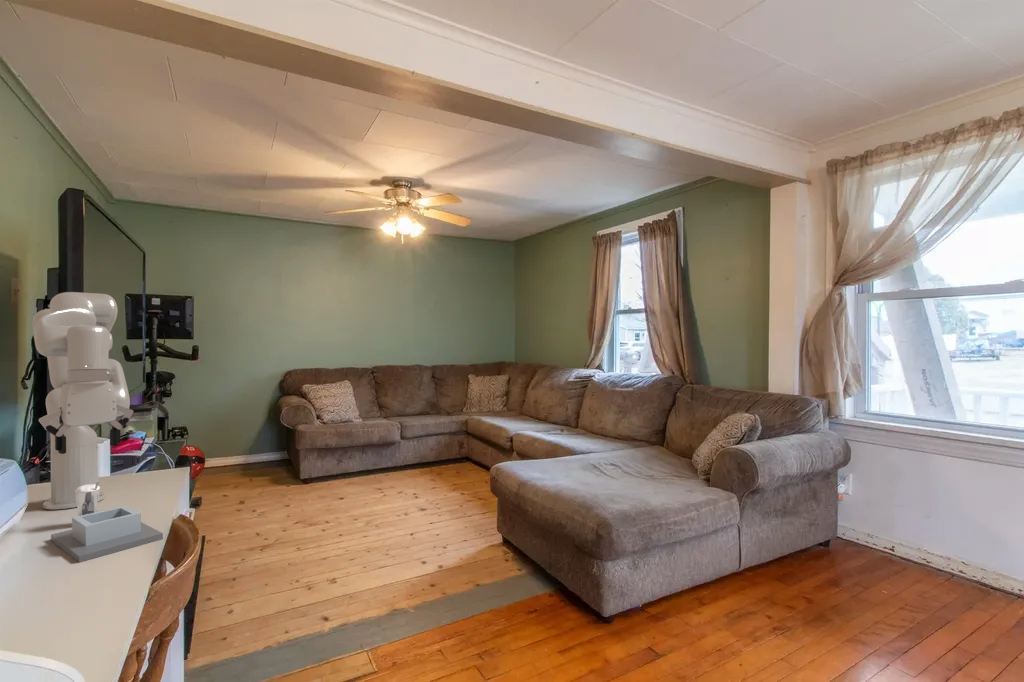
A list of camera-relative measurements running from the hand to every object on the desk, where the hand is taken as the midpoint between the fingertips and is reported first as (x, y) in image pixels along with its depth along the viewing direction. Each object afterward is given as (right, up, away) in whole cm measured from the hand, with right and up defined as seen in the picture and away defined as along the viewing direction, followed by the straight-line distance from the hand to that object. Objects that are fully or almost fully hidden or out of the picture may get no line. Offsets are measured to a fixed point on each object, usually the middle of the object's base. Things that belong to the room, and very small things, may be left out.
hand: (89, 449), depth 117 cm
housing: (+12, -17, -10) cm, 24 cm away
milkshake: (0, -18, 0) cm, 18 cm away
